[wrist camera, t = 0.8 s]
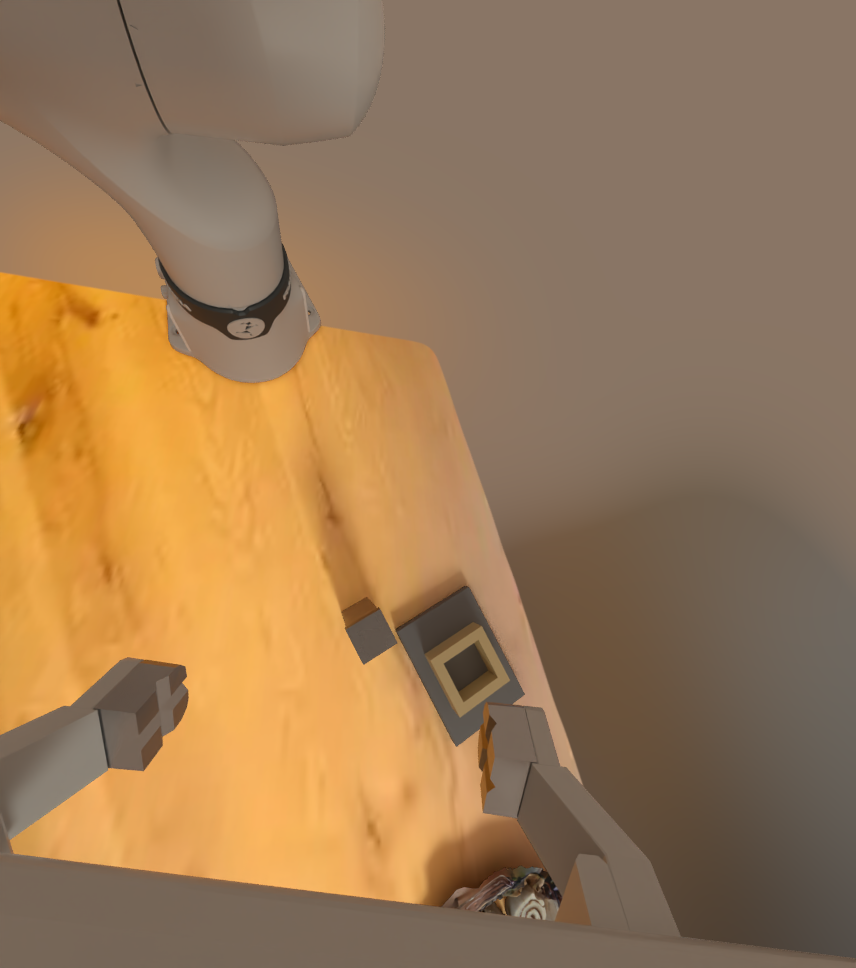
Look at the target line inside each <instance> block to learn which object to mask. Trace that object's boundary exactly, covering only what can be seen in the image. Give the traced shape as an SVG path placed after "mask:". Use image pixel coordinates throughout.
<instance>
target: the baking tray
mask: <svg viewBox="0 0 856 968" xmlns="http://www.w3.org/2000/svg"><path fill="white" fill-rule="evenodd" d="M503 896H507V897H506V900H505V911H506V914H507V915H509V916H517V917H525V918H533V919H541V920H549V921H555V919H556V916H557V913H558V910H559V907H560V904H561V901H562V898H563V897H562V895H561V894H560V892H559V890H558V888H557V887H556V885H555V883H554V882H553V880H552V878H551V877H550V875H549V873H548V872H546V871H543V869H542V868H537V867H536V868H534V867H530V868H527V869H526V868H524V867H523V866H519V867H518V868H517V869H515V868H514V869H513V870H512V869H511V868H509V869H508V870H507V869H506V867H505V868H503V869H502V870H499V871H496V872H494V874H493V875H491V876H488V879H486V880H484V881H483V883H482V884H481V885H480V887H479V888H476V889H472V888H466V887H463V888H460V889H458V890H456V891H455V892H454V894H453V895H452V896H451V897H450V898H449V899H448V900H447V901H446V903H445V904H444V905H443V906H442V907H444V908H452V909H460V910H468V911H476V912H484V913H492V914H500V915H505V914H503V913H502V911H501V910H500V909H499V908H498V907H497V906H496V904H495V902H494V901H496V900H497V899H499V900H501V899H502V898H503ZM482 910H483V911H482Z"/></svg>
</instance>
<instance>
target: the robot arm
mask: <svg viewBox="0 0 856 968" xmlns="http://www.w3.org/2000/svg"><path fill="white" fill-rule="evenodd" d="M384 42H385V24H384V11H383V2H382V0H0V121H1V122H3V123H5V124H7V125H9V126H11V127H12V128H14V129H16V130H17V131H19V132H21V133H22V134H24V135H26V136H27V137H29V138H31V139H32V140H34V141H36V142H37V143H38V144H40V145H41V146H43V147H44V148H46V149H47V150H49V151H50V152H52V153H53V154H55V155H56V156H58V157H59V158H61V159H62V160H63V161H65V162H67V163H68V164H69V165H70V166H72V167H73V168H75V169H76V170H77V171H79V172H80V173H81V174H83V175H84V176H85V177H87V178H88V179H89V180H91V181H92V182H93V183H94V184H96V185H97V186H98V187H99V188H101V189H102V190H103V191H104V192H106V193H107V194H108V195H109V196H110V197H111V198H112V199H114V200H115V201H116V202H117V203H118V204H119V205H120V206H121V207H122V208H123V209H124V210H125V211H126V212H127V213H128V214H129V215H130V216H131V218H132V219H133V220H134V221H135V223H136V224H137V226H138V227H139V228H140V230H141V231H142V233H143V234H144V236H145V237H146V239H147V240H148V242H149V243H150V245H151V246H152V248H153V250H154V251H155V253H156V254H157V256H158V257H157V258H156V259H155V263H156V268H157V271H158V274H159V276H160V277H161V279H165V282H166V285H164V286H161V292H162V295H163V297H164V299H167V306H166V309H167V313H168V337H169V342H170V344H171V346H172V347H173V349H175V350H176V351H178V352H180V353H183V354H186V355H189V356H192V357H195V358H197V359H198V360H200V361H201V362H202V363H204V364H205V365H206V366H207V367H208V368H210V369H211V370H212V371H214V372H216V373H217V374H219V375H221V376H223V377H226V378H228V379H231V380H235V381H240V382H248V383H255V382H264V381H268V380H272V379H275V378H277V377H279V376H281V375H283V374H285V373H286V372H288V371H289V370H290V369H291V368H292V367H293V366H294V365H295V364H296V363H297V362H298V361H299V359H300V357H301V356H302V354H303V351H304V349H305V346H306V343H307V341H308V339H309V338H310V337H311V336H312V335H313V334H315V333H316V331H317V330H318V329H319V328H320V326H321V320H320V316H319V314H318V312H317V311H316V309H315V307H314V305H313V303H312V301H311V300H310V298H309V296H308V294H307V292H306V291H305V289H304V287H303V285H302V283H301V281H300V280H299V278H298V276H297V274H296V272H295V270H294V269H293V267H292V265H291V263H290V261H289V259H288V257H287V254H286V251H285V248H284V246H283V244H282V242H281V236H280V228H279V221H278V213H277V205H276V200H275V196H274V193H273V191H272V189H271V186H270V185H269V182H268V180H267V179H266V177H265V175H264V174H263V172H262V171H261V169H260V168H259V166H258V165H257V163H256V162H255V161H254V160H253V158H252V157H251V156H250V155H249V154H248V152H247V151H246V150H245V149H244V148H243V147H242V146H241V145H240V144H238V143H237V142H236V141H235V140H238V141H246V142H255V143H264V144H273V145H282V146H285V145H294V144H303V143H311V142H319V141H326V140H332V139H338V138H344V137H349V136H351V135H352V134H353V132H354V131H355V130H356V129H357V127H358V126H359V125H360V123H361V122H362V120H363V119H364V118H365V116H366V114H367V112H368V110H369V108H370V106H371V104H372V101H373V99H374V96H375V94H376V90H377V87H378V83H379V80H380V75H381V70H382V63H383V56H384ZM308 312H310V313H311V314H310V315H308ZM177 332H179V334H177ZM186 677H187V674H186V668H185V666H182V665H178V664H172V663H165V662H158V661H152V660H142V659H136V658H129V657H127V658H125V659H122V660H120V661H119V662H118V663H117V664H116V665H115V666H114V667H113V668H111V669H110V670H109V671H108V672H107V673H106V674H105V675H104V676H103V677H102V678H101V679H99V680H98V681H97V682H96V683H95V684H94V685H93V686H92V687H91V688H90V689H89V690H87V691H86V692H85V693H84V694H83V695H82V696H81V697H80V698H79V699H78V700H77V701H75V702H74V703H73V704H72V705H71V706H63V707H60V708H58V709H56V710H54V711H52V712H50V713H47V714H45V715H43V716H41V717H39V718H37V719H34V720H32V721H30V722H28V723H26V724H24V725H21V726H19V727H17V728H15V729H13V730H11V731H8V732H6V733H4V734H2V735H0V968H856V959H854V958H846V957H838V956H830V955H822V954H814V953H806V952H798V951H790V950H782V949H774V948H766V947H758V946H750V945H741V944H733V943H725V942H717V941H709V940H701V939H693V938H685V937H681V936H680V934H679V931H678V929H677V926H676V924H675V921H674V919H673V916H672V914H671V912H670V909H669V907H668V904H667V902H666V899H665V897H664V895H663V892H662V890H661V887H660V885H659V882H658V880H657V877H656V875H655V872H654V870H653V868H652V865H651V863H650V861H649V859H648V858H647V857H646V856H645V855H644V854H643V853H642V852H641V850H640V849H639V848H638V847H637V846H636V845H635V844H634V843H633V842H632V841H631V839H630V838H629V837H628V836H627V835H626V834H625V833H624V831H623V830H622V829H621V828H620V827H619V826H618V825H617V824H616V823H615V821H614V820H613V819H612V818H611V817H610V816H609V815H608V814H607V812H606V811H605V810H604V809H603V808H602V807H601V806H600V805H599V804H598V802H597V801H596V800H595V799H594V798H593V797H592V796H591V795H590V794H589V792H588V791H587V790H586V789H585V788H584V787H583V786H582V785H581V783H580V782H579V781H578V780H577V779H576V778H575V777H574V776H573V774H572V773H571V772H570V771H569V770H568V769H567V768H566V767H560V764H559V760H558V757H557V753H556V750H555V746H554V743H553V740H552V736H551V733H550V729H549V726H548V722H547V719H546V715H545V712H544V710H543V709H542V708H539V707H530V706H521V705H512V704H503V703H494V702H486V703H485V705H484V710H483V718H484V723H483V724H482V725H481V726H480V731H479V739H478V763H479V768H480V769H481V770H482V772H483V773H482V778H481V783H480V787H481V798H482V809H483V813H487V814H493V815H500V816H506V817H513V818H518V819H517V821H518V822H519V824H520V826H521V828H522V829H523V831H524V833H525V834H526V836H527V838H528V839H529V841H530V843H531V844H532V846H533V848H534V850H535V851H536V853H537V855H538V856H539V858H540V860H541V861H542V863H543V865H544V866H545V868H546V870H547V872H548V873H549V875H550V877H551V878H552V880H553V882H554V883H555V885H556V887H557V888H558V890H559V892H560V894H561V895H562V897H563V898H562V901H561V904H560V907H559V910H558V913H557V916H556V919H555V921H549V920H541V919H533V918H525V917H517V916H509V915H500V914H492V913H484V912H476V911H468V910H460V909H452V908H444V907H436V906H428V905H420V904H412V903H404V902H396V901H388V900H380V899H372V898H364V897H356V896H348V895H340V894H331V893H323V892H315V891H307V890H299V889H291V888H283V887H275V886H267V885H259V884H251V883H243V882H235V881H227V880H219V879H211V878H202V877H194V876H186V875H178V874H170V873H162V872H154V871H146V870H138V869H130V868H122V867H114V866H106V865H98V864H90V863H82V862H74V861H66V860H58V859H50V858H42V857H34V856H26V855H18V854H14V853H13V850H12V847H11V843H10V839H12V838H13V837H15V836H16V835H18V834H19V833H20V832H22V831H23V830H25V829H26V828H27V827H29V826H30V825H32V824H33V823H34V822H36V821H37V820H39V819H40V818H41V817H43V816H44V815H46V814H47V813H48V812H50V811H51V810H53V809H54V808H56V807H57V806H58V805H60V804H61V803H63V802H64V801H65V800H67V799H68V798H70V797H71V796H72V795H74V794H75V793H77V792H78V791H79V790H81V789H82V788H84V787H85V786H86V785H88V784H89V783H91V782H92V781H94V780H95V779H96V778H98V777H99V776H101V775H102V774H103V773H105V772H106V771H108V768H115V769H127V770H138V771H144V770H145V769H146V767H147V766H148V765H149V763H150V762H151V761H152V759H153V758H154V757H155V755H156V754H157V752H158V751H159V750H160V748H161V747H162V746H163V736H164V735H166V734H168V733H169V732H171V731H173V730H174V729H175V728H176V726H177V725H178V724H179V722H180V721H181V719H182V717H183V715H184V713H185V710H186V708H187V704H188V698H189V697H188V689H187V688H186V687H185V686H184V685H183V683H182V682H183V681H184V680H185V678H186Z"/></svg>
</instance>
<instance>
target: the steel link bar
mask: <svg viewBox="0 0 856 968" xmlns="http://www.w3.org/2000/svg"><path fill="white" fill-rule="evenodd" d="M341 613H342V616H343V619H344V623H345V626H346V627H345V630H346V632H347V634H348V636H349V638H350V640H351V642H352V644H353V645H354V647H355V649H356V651H357V653H358V655H359V657H360V659H361V661H362V663H363V665H364V664H365V663H367V662H369V661H370V660H372V659H373V658H375V657H376V656H378V655H380V654H381V653H383V652H384V651H386V650H387V649H389V648H391V647H392V646H394V645H395V644H397V641H396V639H395V637H394V635H393V633H392V631H391V629H390V627H389V625H388V623H387V622H386V620H385V618H384V616H383V614H382V612H381V610H380V608H379V607H378V608H377V607H376V606H375V605H374V604H373V603H372V602H371V601H370V600H369V599H368V598H367V597H366V598H364V599H363V600H361V601H359V602H358V603H356V604H354V605H352V606H351V607H349V608H347V609H345V610H344V611H342V612H341Z"/></svg>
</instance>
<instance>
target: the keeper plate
mask: <svg viewBox="0 0 856 968" xmlns="http://www.w3.org/2000/svg"><path fill="white" fill-rule="evenodd" d="M395 630H396V632H397V634H398V636H399V638H400V640H401V642H402V644H403V646H404V648H405V650H406V652H407V654H408V655H409V657H410V659H411V661H412V663H413V665H414V667H415V669H416V671H417V673H418V675H419V677H420V679H421V681H422V683H423V685H424V687H425V688H426V690H427V692H428V694H429V696H430V698H431V700H432V702H433V704H434V706H435V708H436V710H437V712H438V714H439V716H440V718H441V720H442V721H443V723H444V725H445V727H446V729H447V731H448V733H449V735H450V737H451V739H452V741H453V742H454V744H455V745H456V747H457V746H458V745H459V744H461V743H462V742H463V741H465V740H466V739H467V738H469V737H470V736H471V735H472V734H474V733H475V732H476V731H478V730H479V729H480V726H481V725H482V724H483V723H484V718H483V710H484V705H485V703H486V702H494V703H503V704H513V703H514V702H515V701H517V700H518V699H519V698H521V697H522V696H523V695H525V694H524V692H523V690H522V688H521V686H520V684H519V682H518V680H517V678H516V676H515V675H514V673H513V671H512V669H511V667H510V665H509V663H508V661H507V659H506V657H505V655H504V653H503V652H502V650H501V648H500V646H499V644H498V642H497V640H496V638H495V636H494V634H493V632H492V631H491V629H490V627H489V625H488V623H487V621H486V619H485V617H484V615H483V613H482V611H481V609H480V608H479V606H478V604H477V602H476V600H475V598H474V596H473V594H472V592H471V590H470V588H469V587H467V586H464V587H463V588H461V589H460V590H458V591H456V592H455V593H453V594H452V595H450V596H448V597H447V598H445V599H443V600H442V601H440V602H439V603H437V604H435V605H434V606H432V607H431V608H429V609H427V610H426V611H424V612H423V613H421V614H419V615H418V616H416V617H415V618H413V619H411V620H410V621H408V622H407V623H405V624H403V625H402V626H400V627H399V628H397V629H395Z"/></svg>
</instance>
